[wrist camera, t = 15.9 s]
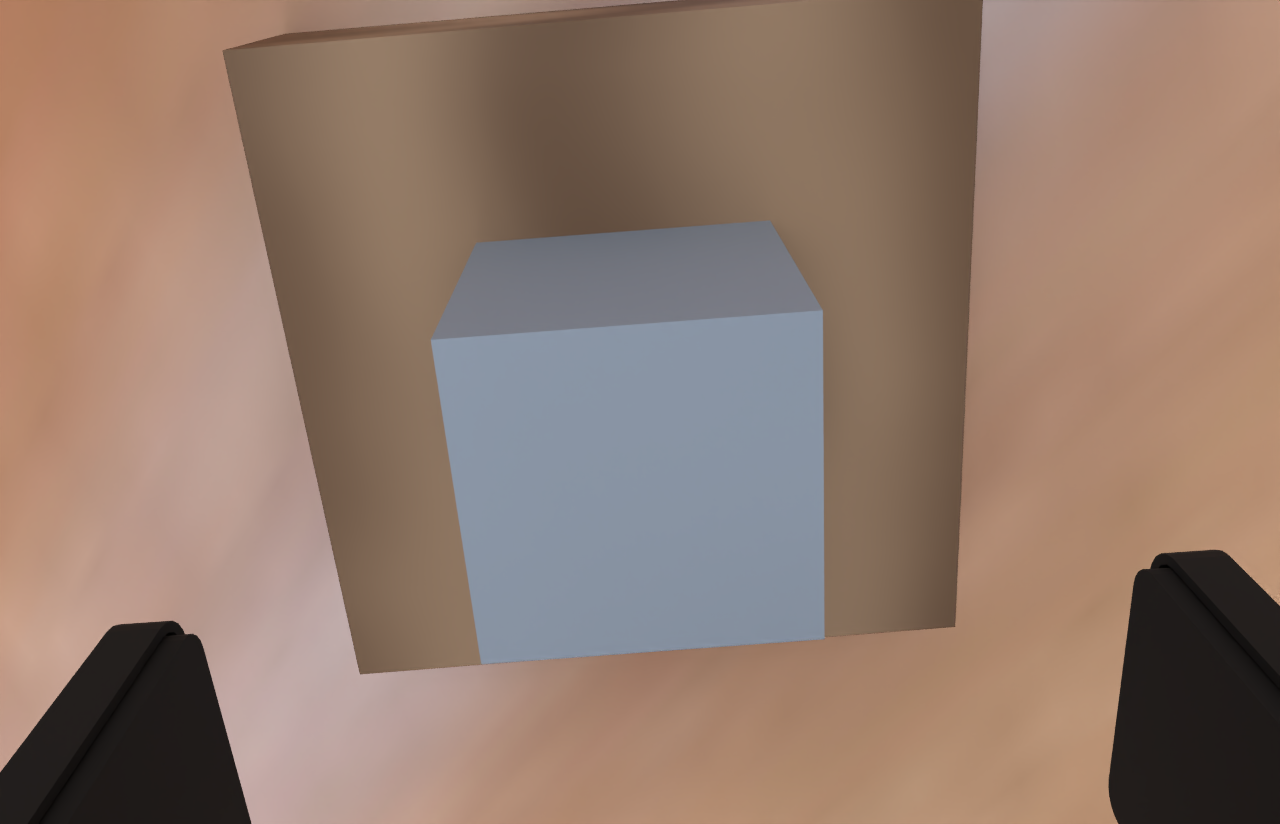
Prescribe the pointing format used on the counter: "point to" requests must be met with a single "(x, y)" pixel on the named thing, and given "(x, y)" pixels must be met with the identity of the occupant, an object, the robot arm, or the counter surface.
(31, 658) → the counter surface
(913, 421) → the walnut block
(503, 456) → the slate cube
